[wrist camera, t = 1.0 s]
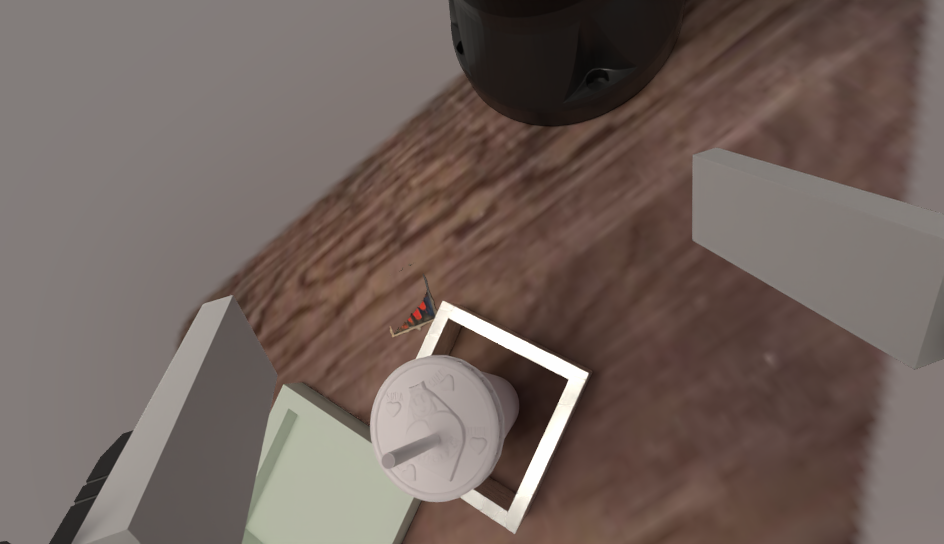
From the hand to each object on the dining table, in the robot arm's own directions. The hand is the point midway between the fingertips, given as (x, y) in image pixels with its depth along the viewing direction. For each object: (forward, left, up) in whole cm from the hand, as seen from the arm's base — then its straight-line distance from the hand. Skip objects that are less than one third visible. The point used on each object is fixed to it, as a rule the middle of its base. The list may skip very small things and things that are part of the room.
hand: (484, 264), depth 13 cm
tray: (+19, -9, -17) cm, 27 cm away
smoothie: (+7, -2, -18) cm, 19 cm away
